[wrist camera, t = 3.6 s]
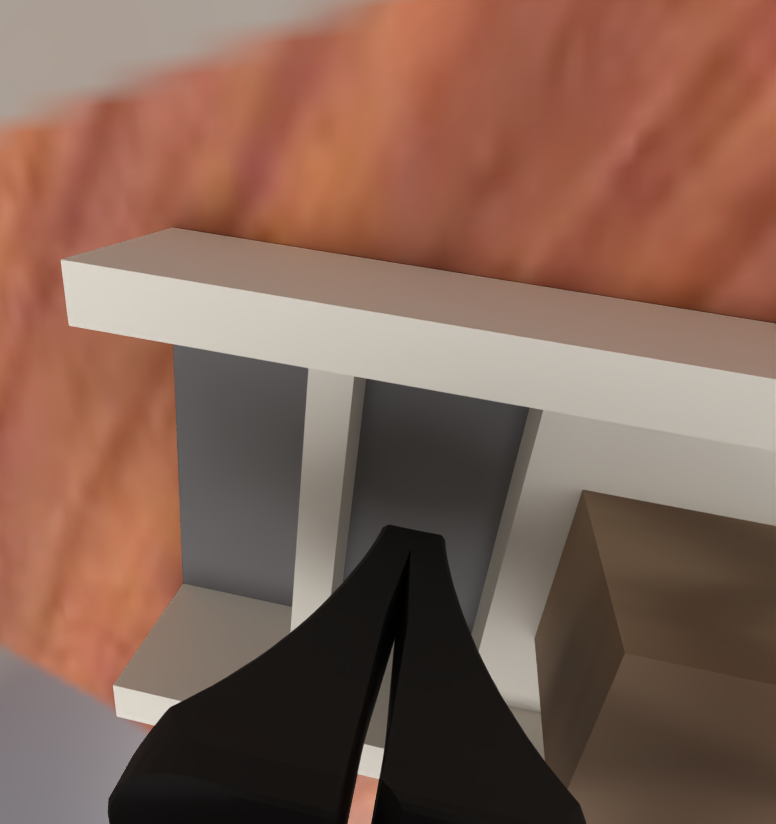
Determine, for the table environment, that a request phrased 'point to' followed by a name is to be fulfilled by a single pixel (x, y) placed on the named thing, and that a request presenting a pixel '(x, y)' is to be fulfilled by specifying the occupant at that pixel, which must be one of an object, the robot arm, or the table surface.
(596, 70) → the table surface
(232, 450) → the track
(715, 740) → the walnut block
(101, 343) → the table surface
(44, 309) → the table surface
